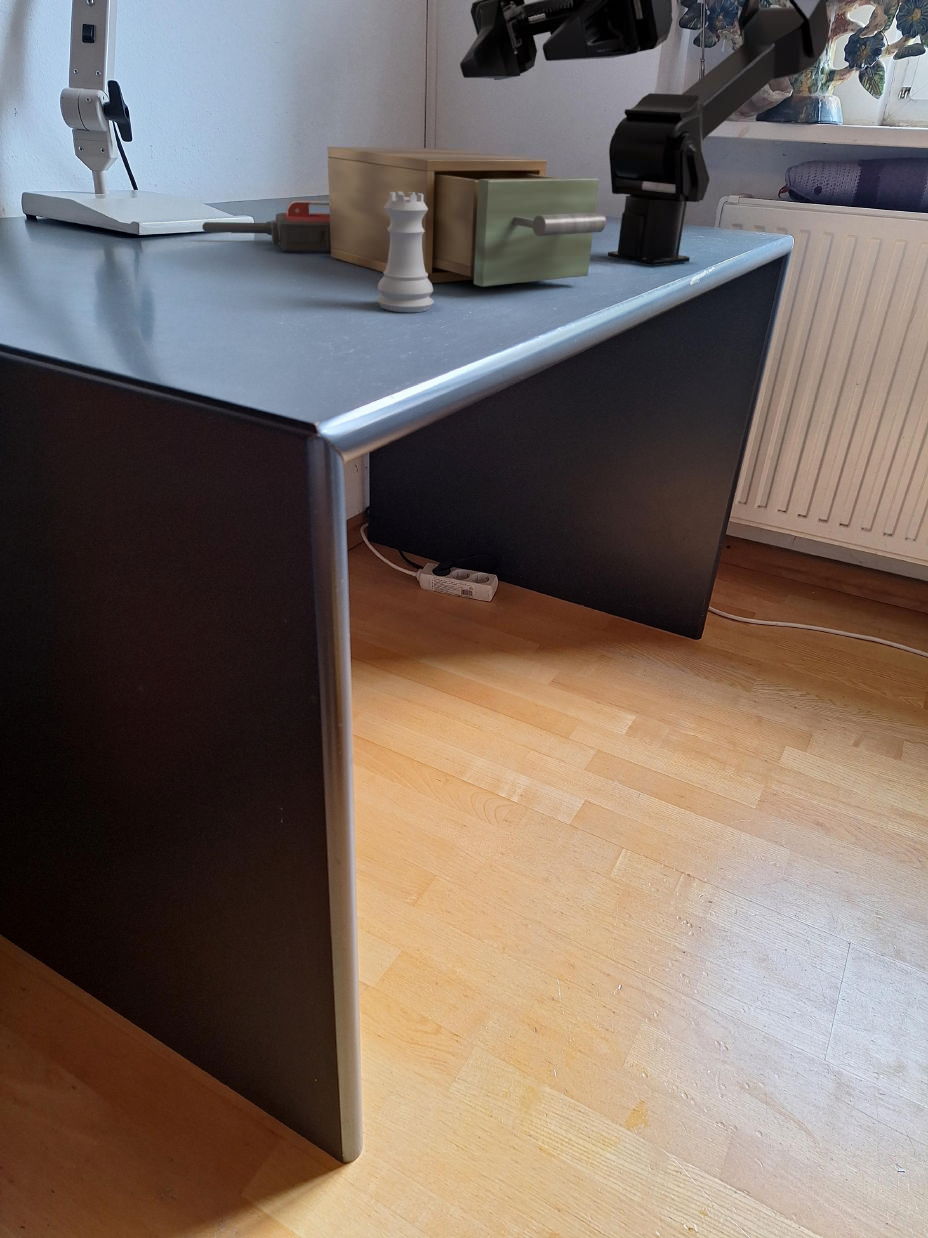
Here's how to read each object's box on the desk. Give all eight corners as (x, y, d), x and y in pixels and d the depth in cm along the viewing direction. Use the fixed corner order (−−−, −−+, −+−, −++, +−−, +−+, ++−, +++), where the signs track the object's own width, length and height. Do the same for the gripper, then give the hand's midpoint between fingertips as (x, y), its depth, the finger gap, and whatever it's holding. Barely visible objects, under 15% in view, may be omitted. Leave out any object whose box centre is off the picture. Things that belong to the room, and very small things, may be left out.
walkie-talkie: (387, 240, 97) (203, 239, 92) (387, 197, 95) (198, 193, 90) (403, 253, 90) (204, 252, 85) (403, 206, 88) (199, 202, 83)
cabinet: (537, 272, 83) (547, 159, 78) (424, 284, 76) (426, 159, 71) (439, 249, 94) (442, 147, 89) (330, 257, 86) (327, 146, 81)
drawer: (620, 283, 75) (633, 182, 71) (514, 295, 68) (522, 185, 64) (485, 251, 87) (489, 164, 83) (382, 259, 80) (382, 164, 76)
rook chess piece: (365, 307, 66) (363, 192, 62) (396, 298, 70) (396, 188, 66) (415, 315, 65) (417, 197, 60) (444, 306, 68) (447, 193, 64)
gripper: (509, -99, 75) (388, -31, 70) (693, -170, 63) (564, -94, 57) (545, 43, 82) (438, 116, 77) (716, 5, 70) (604, 88, 64)
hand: (502, 62), depth 68 cm, fingers open, 9 cm apart
